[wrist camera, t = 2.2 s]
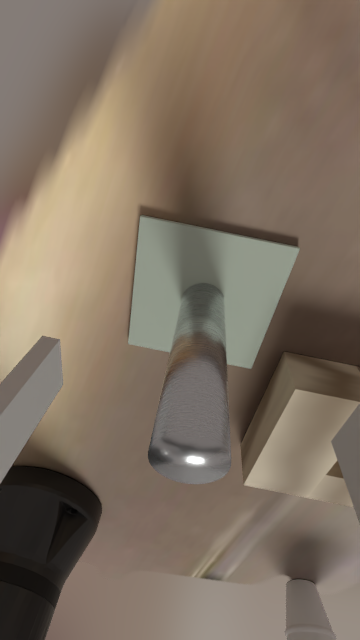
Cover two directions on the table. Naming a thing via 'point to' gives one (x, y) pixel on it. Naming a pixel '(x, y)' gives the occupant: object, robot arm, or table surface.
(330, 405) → the block
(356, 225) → the table surface
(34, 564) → the robot arm
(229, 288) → the mat
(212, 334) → the peg
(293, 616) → the soft serve ice cream cone
